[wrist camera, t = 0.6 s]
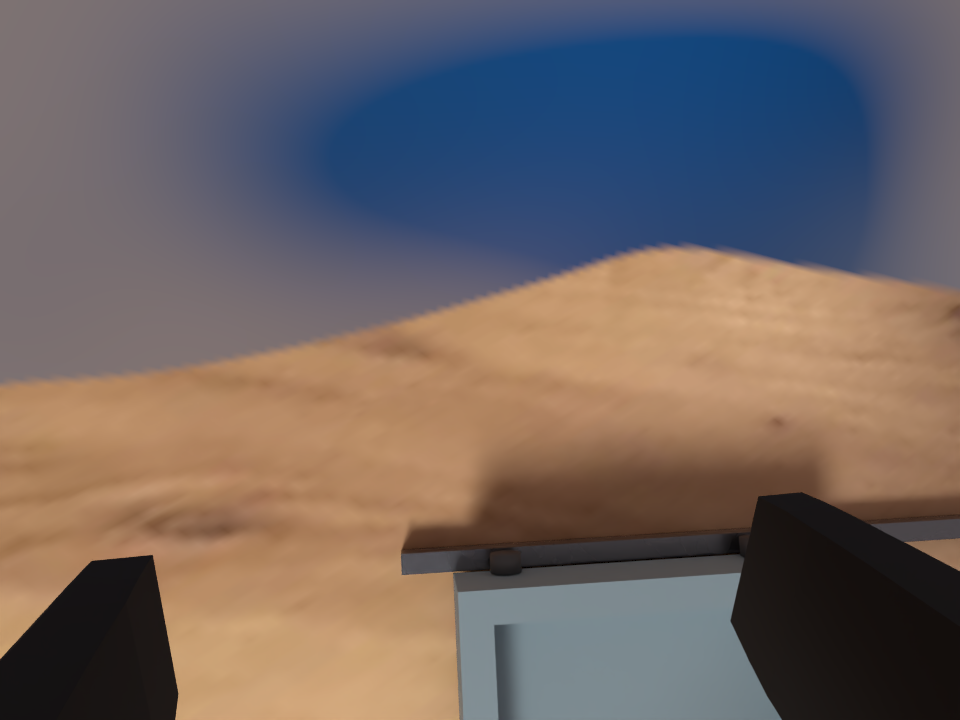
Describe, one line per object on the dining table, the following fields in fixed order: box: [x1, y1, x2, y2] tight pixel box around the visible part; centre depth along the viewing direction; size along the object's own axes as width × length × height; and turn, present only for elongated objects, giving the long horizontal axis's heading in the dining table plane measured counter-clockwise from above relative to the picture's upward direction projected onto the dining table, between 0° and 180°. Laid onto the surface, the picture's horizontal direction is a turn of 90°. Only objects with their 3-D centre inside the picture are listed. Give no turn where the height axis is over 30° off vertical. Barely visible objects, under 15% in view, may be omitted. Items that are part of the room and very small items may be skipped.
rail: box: [401, 515, 960, 575], centre depth 29 cm, size 13×31×2 cm, turn 93°
